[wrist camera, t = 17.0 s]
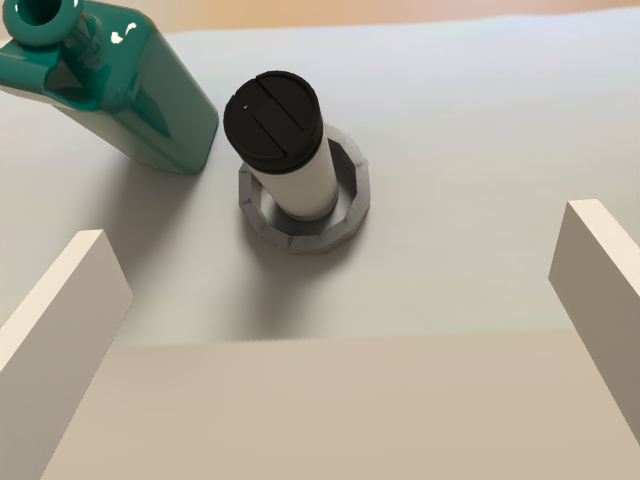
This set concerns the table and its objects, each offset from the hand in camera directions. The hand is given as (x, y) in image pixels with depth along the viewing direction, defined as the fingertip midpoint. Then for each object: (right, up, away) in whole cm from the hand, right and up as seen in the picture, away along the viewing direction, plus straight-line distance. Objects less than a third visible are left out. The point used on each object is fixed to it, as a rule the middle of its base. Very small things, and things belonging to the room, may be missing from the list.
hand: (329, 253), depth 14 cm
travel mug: (-1, +5, +34) cm, 35 cm away
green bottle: (-16, +11, +37) cm, 42 cm away
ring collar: (-2, +5, +34) cm, 35 cm away
